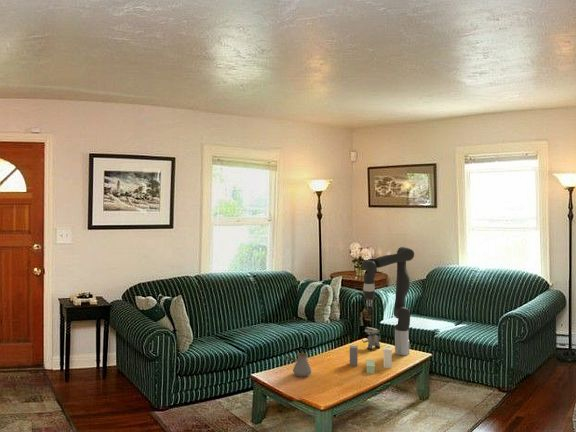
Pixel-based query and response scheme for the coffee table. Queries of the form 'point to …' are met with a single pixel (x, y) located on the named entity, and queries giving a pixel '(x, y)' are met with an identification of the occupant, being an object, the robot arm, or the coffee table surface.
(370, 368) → the sage green pillar
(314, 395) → the coffee table surface
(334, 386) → the coffee table surface
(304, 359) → the coffee pot
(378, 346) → the figurine
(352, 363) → the slate grey pillar
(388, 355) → the off white pillar
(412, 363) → the coffee table surface
